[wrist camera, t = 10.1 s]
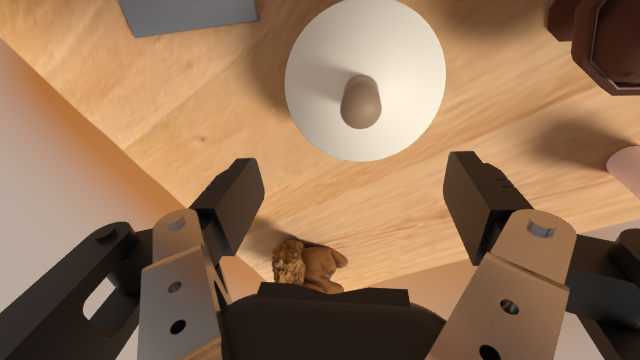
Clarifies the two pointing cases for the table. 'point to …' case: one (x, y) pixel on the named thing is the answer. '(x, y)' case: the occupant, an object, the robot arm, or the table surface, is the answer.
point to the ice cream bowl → (602, 40)
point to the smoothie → (626, 168)
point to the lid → (365, 79)
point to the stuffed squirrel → (307, 266)
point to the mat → (185, 14)
